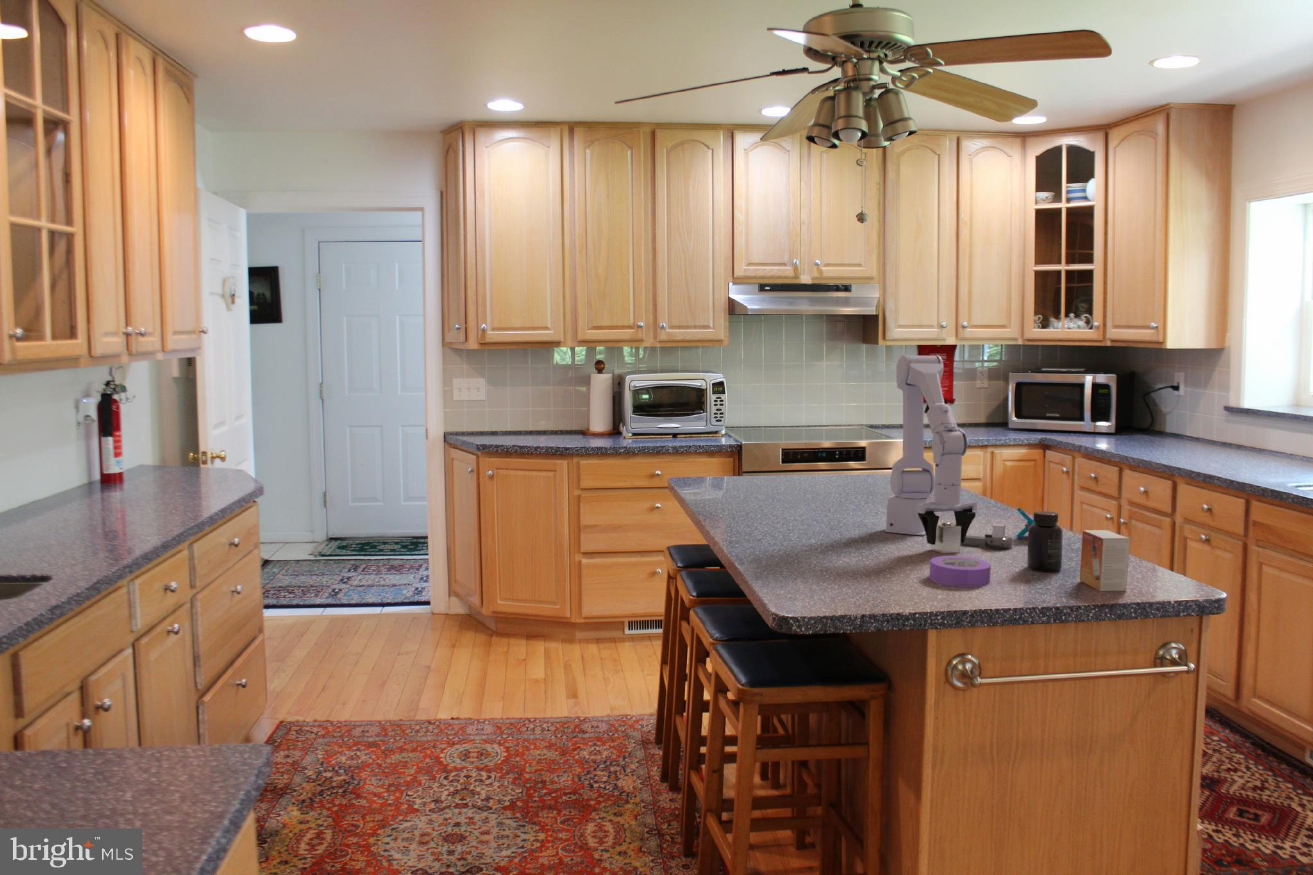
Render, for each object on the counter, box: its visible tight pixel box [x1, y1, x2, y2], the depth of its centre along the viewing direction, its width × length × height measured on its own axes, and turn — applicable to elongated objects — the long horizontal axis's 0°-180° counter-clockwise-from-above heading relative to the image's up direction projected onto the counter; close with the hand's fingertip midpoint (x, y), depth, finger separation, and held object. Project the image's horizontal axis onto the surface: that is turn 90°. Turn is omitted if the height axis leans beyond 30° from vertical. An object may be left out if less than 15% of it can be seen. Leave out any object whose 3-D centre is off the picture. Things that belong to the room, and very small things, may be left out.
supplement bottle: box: [1026, 510, 1064, 573], centre depth 212 cm, size 7×7×12 cm
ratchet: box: [960, 523, 1013, 551], centre depth 236 cm, size 18×6×5 cm, turn 63°
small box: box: [1079, 529, 1131, 592], centre depth 198 cm, size 8×6×10 cm
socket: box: [930, 521, 961, 554], centre depth 230 cm, size 5×5×6 cm
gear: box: [1015, 507, 1035, 539], centre depth 244 cm, size 11×6×10 cm
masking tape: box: [929, 555, 992, 588], centre depth 203 cm, size 12×12×4 cm
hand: (945, 542), depth 230 cm, fingers open, 7 cm apart
